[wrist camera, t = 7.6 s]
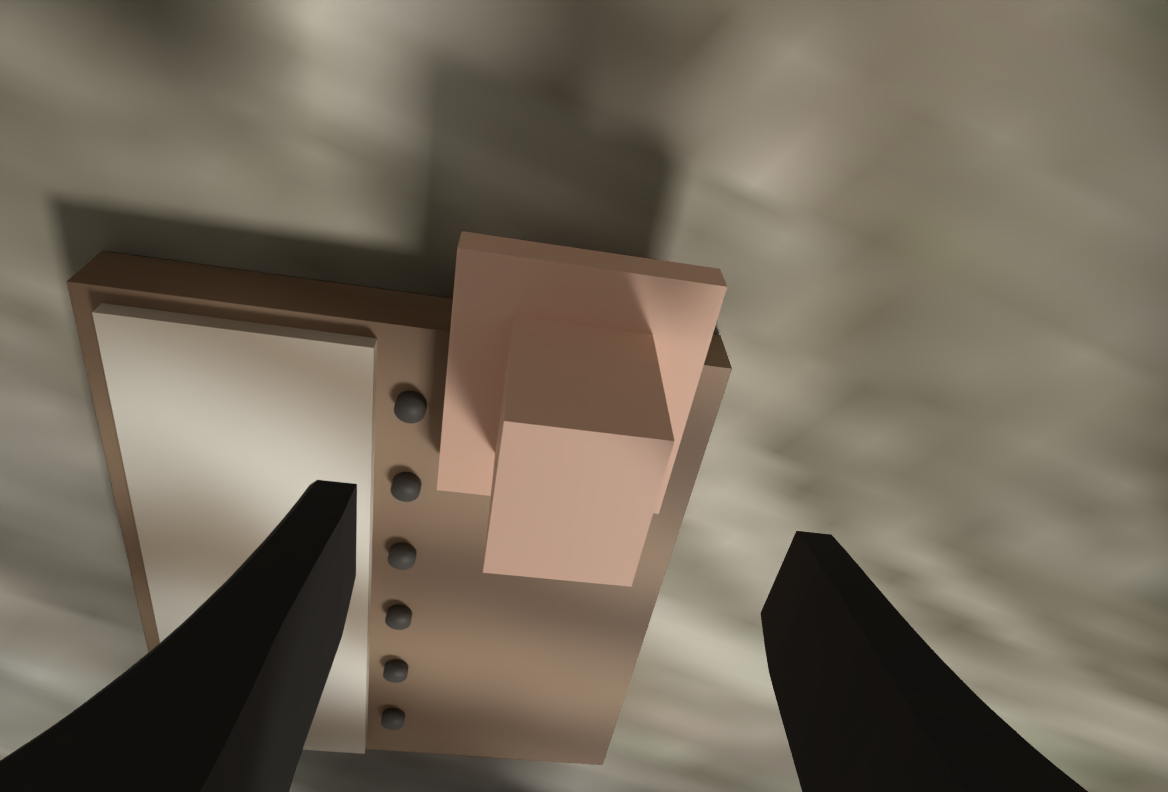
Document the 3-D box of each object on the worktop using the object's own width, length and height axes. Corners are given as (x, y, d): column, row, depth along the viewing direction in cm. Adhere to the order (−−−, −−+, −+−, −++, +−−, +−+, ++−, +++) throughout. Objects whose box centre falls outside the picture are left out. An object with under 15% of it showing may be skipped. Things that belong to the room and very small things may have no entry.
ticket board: (600, 724, 28) (603, 776, 26) (185, 693, 26) (161, 747, 24) (720, 335, 19) (735, 378, 17) (102, 250, 17) (56, 290, 16)
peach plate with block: (655, 491, 19) (677, 634, 16) (441, 467, 19) (413, 611, 15) (720, 268, 16) (767, 387, 12) (461, 231, 15) (432, 344, 12)
